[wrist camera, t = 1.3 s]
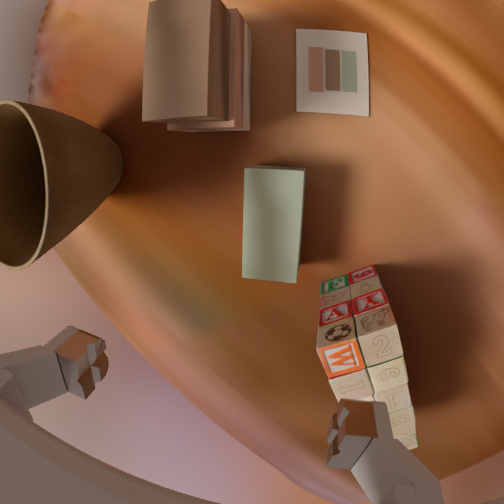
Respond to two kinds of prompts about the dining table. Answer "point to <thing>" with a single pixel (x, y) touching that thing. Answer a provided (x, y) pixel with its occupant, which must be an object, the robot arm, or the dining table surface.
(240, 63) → the base brick
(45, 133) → the plant pot
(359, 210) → the dining table surface
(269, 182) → the brick sage
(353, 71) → the page
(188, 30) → the brick walnut
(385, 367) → the stack of blocks
